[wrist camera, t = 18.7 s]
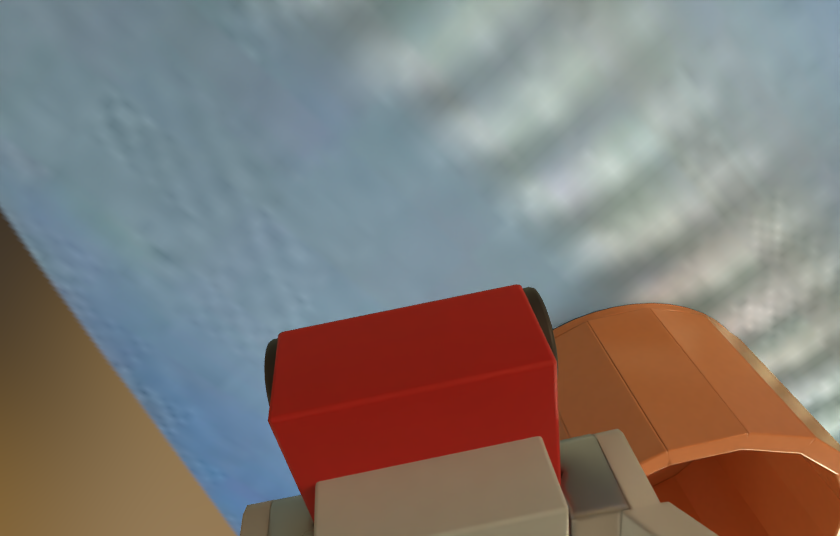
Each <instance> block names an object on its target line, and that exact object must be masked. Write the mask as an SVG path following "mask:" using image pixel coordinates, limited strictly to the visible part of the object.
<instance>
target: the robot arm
mask: <svg viewBox="0 0 840 536" xmlns="http://www.w3.org/2000/svg"><path fill="white" fill-rule="evenodd" d="M560 465H561V486H560V487H561V490H562V492H563V495H564V498H565V500H566V503H567V505H568V511H569V536H719V535H717V534H716V533H714V532H713V531H711V530H710V529H708V528H707V527H705V526H704V525H702V524H701V523H699V522H698V521H696V520H695V519H693V518H692V517H691V516H689V515H688V514H686V513H685V512H683V511H682V510H680V509H679V508H677V507H676V506H674V505H673V504H671V503H670V502H662V503H660V501H659V499H658V497H657V495H656V493H655V492H654V490H653V488H652V486H651V484H650V482H649V480H648V478H647V477H646V475H645V473H644V471H643V469H642V467H641V465H640V464H639V462H638V460H637V458H636V456H635V454H634V452H633V450H632V449H631V447H630V445H629V443H628V441H627V439H626V437H625V435H624V434H623V432H621V431H620V430H619V429H613V430H609V431H604V432H600V433H595V434H587V435H582V436H578V437H573V438H569V439H564V440H560ZM240 536H314V522H313V520H312V517H311V515H310V513H309V511H308V509H307V506H306V504H305V502H304V500H303V498H302V495H298V496H293V497H288V498H282V499H277V500H271V501H266V502H261V503H256V504H251V505H247V507H246V509H245V512H244V514H243V518H242V525H241V532H240Z"/></svg>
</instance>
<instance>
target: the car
mask: <svg viewBox="0 0 840 536" xmlns="http://www.w3.org/2000/svg"><path fill="white" fill-rule="evenodd" d="M264 369H265V384H266V392H267V397H268V402H269V406H270V408H269V416H268V422H269V424H270V427H271V429H272V431H273V433H274V435H275V438H276V440H277V442H278V444H279V447H280V449H281V451H282V453H283V455H284V458H285V460H286V462H287V464H288V466H289V469H290V471H291V473H292V475H293V478H294V480H295V482H296V484H297V486H298V489H299V491H300V493H301V495H302V498H303V500H304V502H305V504H306V506H307V509H308V511H309V513H310V515H311V517H312V520H313V522H314V536H569V511H568V505H567V503H566V500H565V498H564V495H563V492H562V490H561V487H560V486H561V465H560V438H559V410H558V383H557V378H558V356H557V348H556V343H555V338H554V333H553V329H552V325H551V322H550V319H549V315H548V312H547V310H546V307H545V305H544V302H543V300H542V298H541V296H540V295H539V293H538V292H537V290H536V289H534V288H531V287H527V288H522V287H521V286H520V285H517V284H516V285H511V286H506V287H501V288H496V289H491V290H486V291H481V292H476V293H471V294H466V295H462V296H457V297H452V298H447V299H442V300H437V301H432V302H427V303H422V304H417V305H412V306H408V307H403V308H398V309H393V310H388V311H383V312H378V313H373V314H368V315H363V316H358V317H353V318H349V319H344V320H339V321H334V322H329V323H324V324H319V325H314V326H309V327H304V328H299V329H295V330H290V331H285V332H281V333H280V334H279V335H278V338H277V339H273V340H272V341H270V342H269V343H268V346H267V349H266V354H265V365H264Z"/></svg>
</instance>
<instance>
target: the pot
mask: <svg viewBox="0 0 840 536" xmlns="http://www.w3.org/2000/svg"><path fill="white" fill-rule="evenodd" d="M553 333H554V338H555V343H556V348H557V356H558V378H557V383H558V410H559V438H560V440H564V439H569V438H573V437H578V436H582V435H587V434H595V433H600V432H604V431H609V430H613V429H619V430H620V431H621V432H623V434H624V435H625V437H626V439H627V441H628V443H629V445H630V447H631V449H632V450H633V452H634V454H635V456H636V458H637V460H638V462H639V464H640V465H641V467H642V469H643V471H644V473H645V475H646V477H647V478H648V480H649V482H650V484H651V486H652V488H653V490H654V492H655V493H656V495H657V497H658V499H659V501H660V503H662V502H670V503H671V504H673V505H674V506H676V507H677V508H679V509H680V510H682V511H683V512H685V513H686V514H688V515H689V516H691V517H692V518H693V519H695V520H696V521H698V522H699V523H701V524H702V525H704V526H705V527H707V528H708V529H710V530H711V531H713V532H714V533H716V534H717V535H719V536H840V444H839V443H838V442H837V441H836V440H835V439H834V438H833V437H832V436H831V435H830V434H829V433H828V432H827V431H826V430H825V429H824V428H823V426H822V425H821V424H820V423H819V422H818V421H817V420H816V419H815V418H814V417H813V416H812V415H811V414H810V413H809V412H808V411H807V410H806V408H805V407H804V406H803V405H802V404H801V403H800V402H799V401H798V400H797V399H796V398H795V397H794V396H793V395H792V394H791V393H790V392H789V390H788V389H787V388H786V387H785V386H784V385H783V384H782V383H781V382H780V381H779V380H778V379H777V378H776V377H775V376H774V375H773V374H772V372H771V371H770V370H769V369H768V368H767V367H766V366H765V365H764V364H763V363H762V362H761V361H760V360H759V359H758V358H757V357H756V356H755V354H754V353H753V352H752V351H751V350H750V349H749V348H748V347H747V346H746V345H745V344H744V343H743V342H742V341H741V340H740V339H739V338H738V337H736V336H735V335H733V334H732V333H730V332H729V331H728V330H727V329H726V328H725V327H724V326H723V325H721V324H720V323H719V322H718V321H716V320H715V319H713V318H711V317H709V316H707V315H705V314H704V313H701V312H698V311H695V310H693V309H690V308H686V307H681V306H676V305H671V304H658V303H645V304H630V305H624V306H618V307H612V308H608V309H605V310H601V311H597V312H593V313H590V314H588V315H585V316H582V317H580V318H577V319H574V320H572V321H570V322H568V323H566V324H564V325H562V326H560V327H558V328H556V329H554V330H553Z"/></svg>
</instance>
